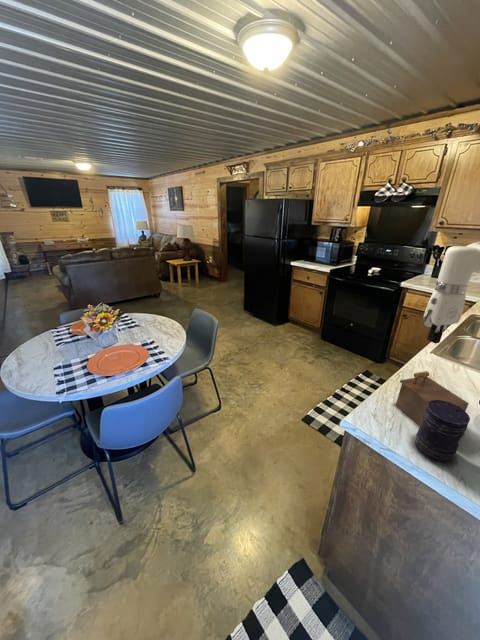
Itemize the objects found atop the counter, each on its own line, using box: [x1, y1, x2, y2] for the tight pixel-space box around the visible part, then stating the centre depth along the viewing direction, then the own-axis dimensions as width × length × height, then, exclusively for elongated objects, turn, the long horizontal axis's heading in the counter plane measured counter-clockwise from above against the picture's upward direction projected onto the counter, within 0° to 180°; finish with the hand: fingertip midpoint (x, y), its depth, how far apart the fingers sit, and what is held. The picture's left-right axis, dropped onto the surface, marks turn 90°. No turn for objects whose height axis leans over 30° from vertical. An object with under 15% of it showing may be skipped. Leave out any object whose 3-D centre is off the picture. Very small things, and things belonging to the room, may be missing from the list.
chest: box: [395, 383, 469, 427], centre depth 91 cm, size 15×12×10 cm
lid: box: [399, 370, 470, 407], centre depth 89 cm, size 16×12×5 cm
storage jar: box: [413, 400, 471, 465], centre depth 77 cm, size 10×10×15 cm
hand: (432, 341), depth 87 cm, fingers closed
